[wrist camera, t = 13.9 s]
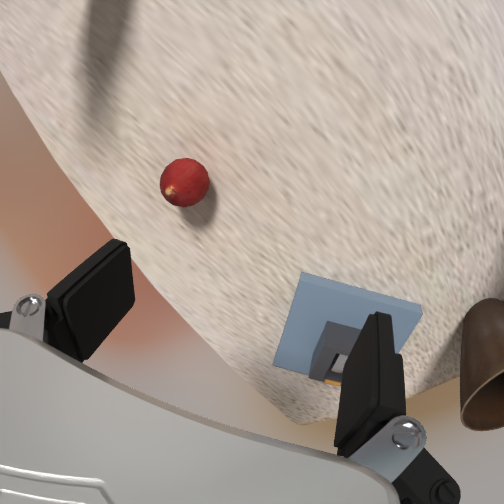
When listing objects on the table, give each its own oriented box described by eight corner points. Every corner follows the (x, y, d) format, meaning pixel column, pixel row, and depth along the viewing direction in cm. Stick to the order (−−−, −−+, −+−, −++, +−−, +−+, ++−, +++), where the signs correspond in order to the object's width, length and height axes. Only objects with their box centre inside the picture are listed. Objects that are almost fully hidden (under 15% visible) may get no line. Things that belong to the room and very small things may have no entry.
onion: (204, 203, 42) (176, 228, 35) (170, 178, 41) (137, 199, 35) (226, 169, 39) (200, 189, 32) (190, 143, 38) (157, 158, 32)
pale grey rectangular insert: (352, 336, 44) (351, 356, 40) (342, 353, 46) (341, 373, 42) (341, 333, 44) (340, 353, 40) (333, 351, 46) (330, 371, 43)
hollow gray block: (374, 332, 42) (374, 359, 38) (356, 364, 46) (354, 389, 42) (327, 320, 43) (323, 346, 39) (312, 353, 47) (308, 378, 43)
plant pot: (513, 257, 33) (561, 334, 19) (529, 322, 36) (561, 396, 23) (428, 308, 40) (447, 397, 27) (457, 363, 43) (472, 442, 30)
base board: (420, 304, 40) (422, 313, 39) (372, 381, 50) (372, 390, 48) (301, 271, 43) (299, 280, 41) (275, 356, 52) (272, 365, 51)
